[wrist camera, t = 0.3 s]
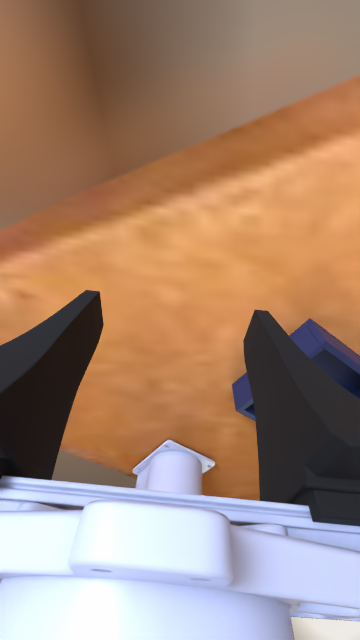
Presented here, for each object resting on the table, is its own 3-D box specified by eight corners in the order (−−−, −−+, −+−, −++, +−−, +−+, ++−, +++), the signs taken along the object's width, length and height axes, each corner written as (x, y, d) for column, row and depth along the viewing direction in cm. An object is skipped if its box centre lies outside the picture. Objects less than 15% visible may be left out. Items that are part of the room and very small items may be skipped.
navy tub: (299, 424, 32) (310, 452, 29) (231, 384, 29) (235, 410, 26) (381, 372, 27) (404, 399, 24) (309, 318, 24) (325, 340, 21)
